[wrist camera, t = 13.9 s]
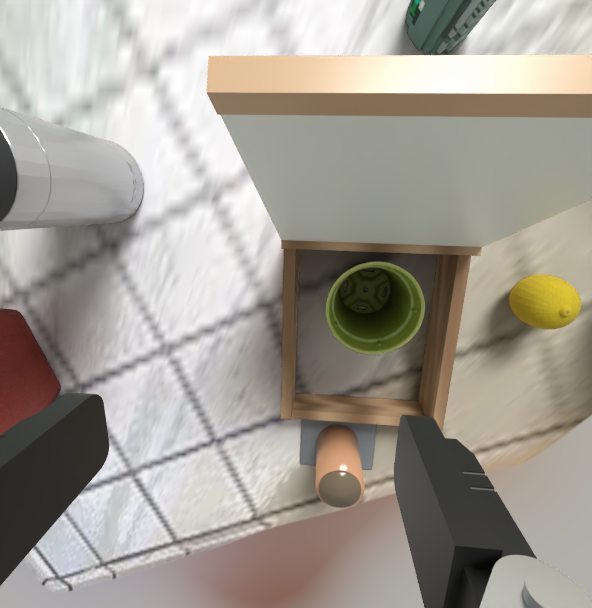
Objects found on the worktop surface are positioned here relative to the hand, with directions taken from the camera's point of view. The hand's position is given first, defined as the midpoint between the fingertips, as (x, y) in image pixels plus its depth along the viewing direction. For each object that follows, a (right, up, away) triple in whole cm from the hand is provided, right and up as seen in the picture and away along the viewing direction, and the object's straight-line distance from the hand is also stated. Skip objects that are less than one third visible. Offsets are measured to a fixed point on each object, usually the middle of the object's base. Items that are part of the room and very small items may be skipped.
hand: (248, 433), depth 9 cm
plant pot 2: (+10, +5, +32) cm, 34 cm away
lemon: (+28, +5, +31) cm, 42 cm away
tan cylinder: (+7, -16, +38) cm, 42 cm away
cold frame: (+9, +1, +33) cm, 35 cm away
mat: (+7, -15, +38) cm, 42 cm away
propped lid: (+10, +17, +30) cm, 35 cm away
